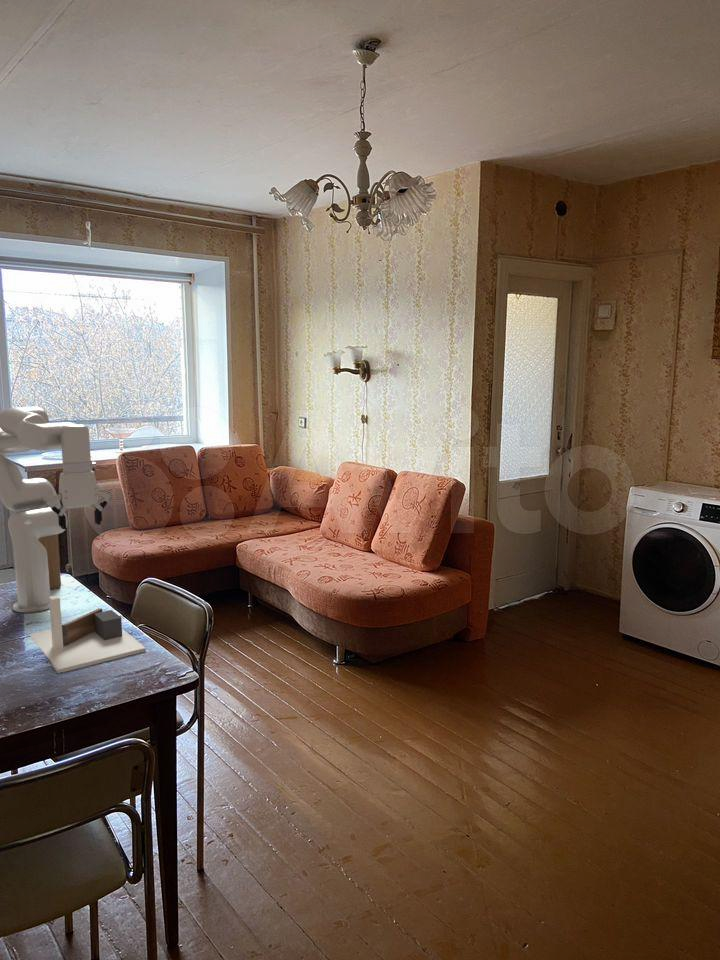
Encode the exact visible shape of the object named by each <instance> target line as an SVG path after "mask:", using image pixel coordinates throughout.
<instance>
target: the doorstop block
mask: <svg viewBox="0 0 720 960" xmlns="http://www.w3.org/2000/svg"><path fill="white" fill-rule="evenodd" d="M94 623H95V632H96V633H97V634H98V635H99V636H100V637H101V638H102V639H103V640H108V639H113V638H117V637H121V636H122V629H123V623H122V617H121V616H119V614H117V613H116V612H114V610H112V609H110V610H106V611H105V610H104V611H103V612H99V613H94Z"/></svg>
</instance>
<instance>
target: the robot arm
mask: <svg viewBox="0 0 720 960" xmlns="http://www.w3.org/2000/svg"><path fill="white" fill-rule="evenodd" d="M90 443H91V442H90V429H89V427H88V426H87V424H82V423H81V424H80V423H77V424H76V423H74V422H69V421H67V422H66V421H64V422H51V423H50V420H49V415H48V413H47V412H46V410H45V409H43V408H41V407H38V406H17V407H16V406H15V407H10V408H5V409H3V410H2V411H1V412H0V500H1V502H2V504H3V506H4V507H5V509H7V510H9V511H15V512H14V513H13V514H11V516H10V517H8V521H7V527H8V532H9V535H10V539H11V542H12V543H11V544H12V549H13V559H14V572H15V582H16V583H15V584H16V597H17V601H16V602H14V603H13V605H12V610H13V611H15V612H17V613H24V614H25V613H37V612H42V611H45V610H50V605H49V597H51V589H50V585H49V571H48V558H47V551H46V549H45V547H44V546H43V545H42V544H41V543H40V542H39V540H38V539H39V538H42V537H46V536H51V535H55V534H57V535H59V534H62V533H64V532H65V531H66V529H67V528H68V516H67V514H66V512H67V510H68V509H77V508H85V507H94V511H93V513H94V524H96V525H99V526H100V525H101V522H102V521H103V513H102V512H103V510H104V508H105V507H106V506H107V505H108V502H109V500H110V497H111V495H110V494H108V493H106V492H103V491H101V490H99V489H98V484H97V479H96V475H95V471H93V468H96V467H97V462H96V461H95V462H94V461H92V459H91V457H92V456H91V444H90ZM58 449H61V456H62V457H61V460H62V472H61V473H60V474H59V477H58V478H59V481H58V493H57V491H56V489H55V488H54V485H53V484H52V483H51V482H50V481H49V480H48V479H46V478H44V477H33V478H32V477H31V478H24V477H23V475H22V473H21V471H20V469H19V467H18V465H16V464H15V463H14V462H13V461H12V460H11V459H9V458H8V457H6V456H4V455H6V454H15V453H16V454H17V453H26V452H30V451H32V450H34V451H51V450H58ZM99 497H102V501H101V502H100V503H99V501H100V500H99Z"/></svg>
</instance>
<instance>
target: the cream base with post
mask: <svg viewBox="0 0 720 960" xmlns="http://www.w3.org/2000/svg"><path fill="white" fill-rule="evenodd" d="M49 605H50V608H49V614H50V615H49V616H50V617H49V618H50V629H47V630H42V631H37V632H31V633H28V636H29V637H30V638H31V639H32V641H33V642H34V643H35V644H36V646H38V648H39V649H40V651H42V653H43V654H44V655H45V657H47V658H48V660H47V662H48V663H49V664H50V665H51V667H52V668H53V669H54V670H55V672H56V673H57V674H61V672H62V673H66V672H69V671H73V670H77V669H80V668H81V669H82V668H85V667H89V666H94V665H97V664H101V663H105V662H108V661H113V660H116V659H120V658H124V657H128V655H129V656H132V655H136V653H137V654H140V653H144V652H146V647H145V646H144V645H143V644H141V643H140V642H139V641H138V640H137V639H135V638H134V637H133V636H132V635H130V634H129V633H128V632H127V631H126V630H124V629H123V628H122V636H121V637H117V638H113V639H108V640H103V639H102V638H101V637H100V636H99V635H98V634H97V633H96V632H95V631H94V632H92V633H90V634H88V635H86V636H84V637H82V638H80V639H78V640H76V641H74V642H72V643H70V644H68V645H63V636H62V625H63V624H62V612H61V610H62V607H61V598H60V597H59V596H58V595H52V596H51V595H50V597H49Z"/></svg>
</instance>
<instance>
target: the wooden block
mask: <svg viewBox="0 0 720 960" xmlns="http://www.w3.org/2000/svg"><path fill="white" fill-rule="evenodd" d="M58 536H59V534H55V535H51V536H46V537H42V538H39V539H38V540H39V542H40V543H41V544H42V545H43V546H44V547H45V549H46V551H47V558H48V571H49V585H50V590H53V589H54V588H56V589H59V588H61V586H62V579H61V566H60V563H61V562H60V552H59V551H60V550H59V539H58V538H59V537H58Z"/></svg>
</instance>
